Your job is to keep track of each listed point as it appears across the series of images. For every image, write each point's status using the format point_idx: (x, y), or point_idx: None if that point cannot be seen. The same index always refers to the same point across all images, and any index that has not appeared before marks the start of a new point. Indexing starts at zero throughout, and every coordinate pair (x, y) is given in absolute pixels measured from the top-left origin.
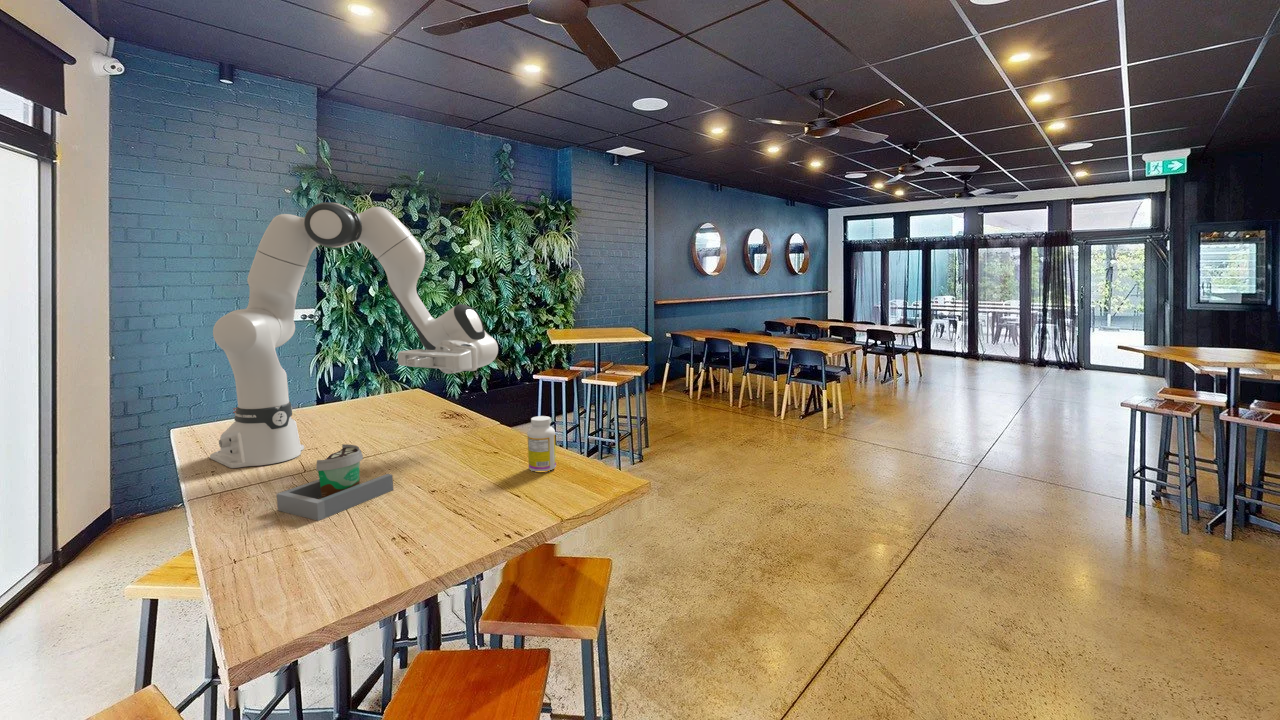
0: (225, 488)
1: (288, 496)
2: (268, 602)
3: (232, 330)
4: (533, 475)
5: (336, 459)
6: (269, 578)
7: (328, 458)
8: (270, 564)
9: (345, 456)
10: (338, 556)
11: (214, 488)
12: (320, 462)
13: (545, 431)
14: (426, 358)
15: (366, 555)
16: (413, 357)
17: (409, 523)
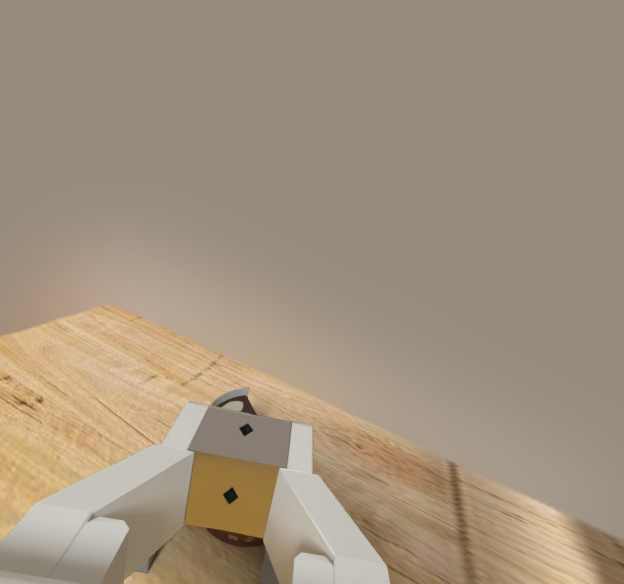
0: (473, 499)
1: (268, 417)
2: (128, 330)
3: None
4: None
5: (220, 398)
6: (154, 348)
7: (252, 414)
8: (173, 361)
9: (210, 405)
10: (104, 370)
11: (487, 496)
12: (242, 392)
13: None
14: (84, 480)
15: (67, 372)
16: (344, 519)
17: (23, 435)
